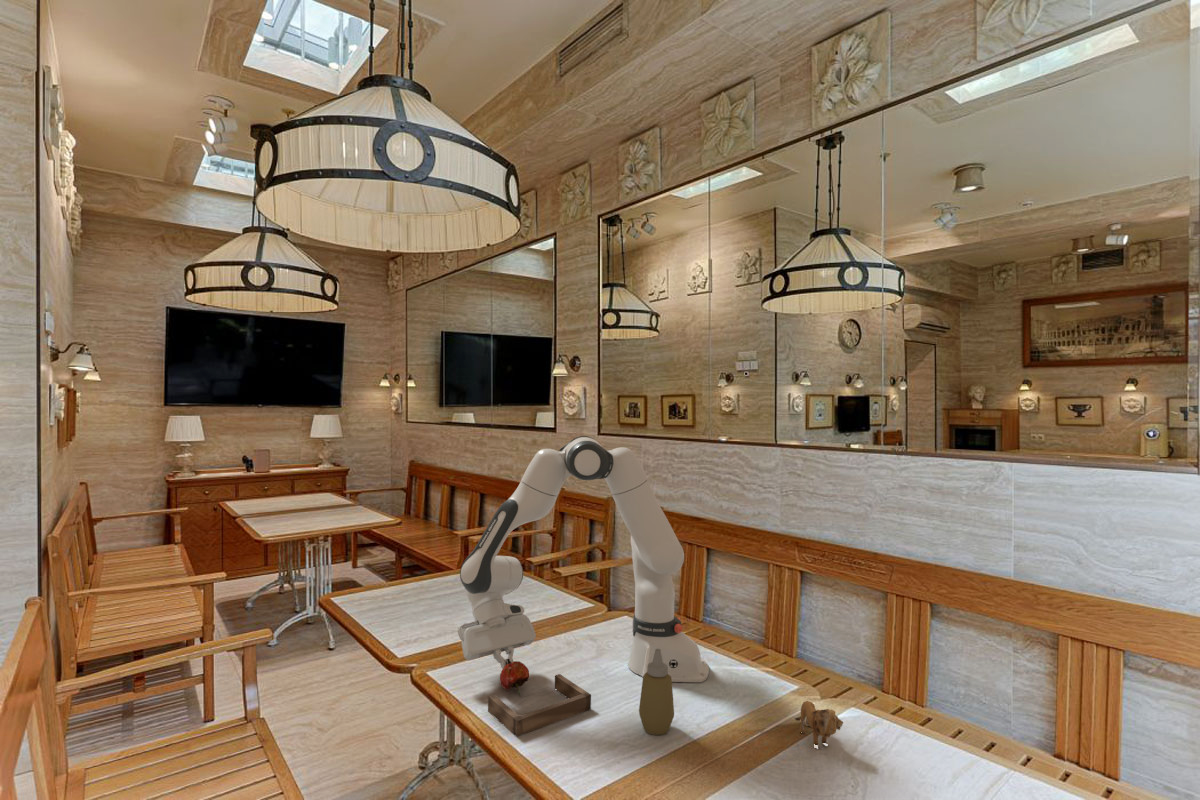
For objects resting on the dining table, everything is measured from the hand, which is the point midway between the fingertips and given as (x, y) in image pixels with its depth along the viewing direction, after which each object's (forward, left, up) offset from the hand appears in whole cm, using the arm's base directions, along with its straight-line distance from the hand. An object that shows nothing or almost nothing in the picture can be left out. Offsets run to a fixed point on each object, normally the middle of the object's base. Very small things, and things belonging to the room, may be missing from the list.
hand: (508, 666), depth 156 cm
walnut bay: (-11, +10, -5) cm, 16 cm away
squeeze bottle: (-40, +12, -5) cm, 42 cm away
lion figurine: (-75, +8, -5) cm, 76 cm away
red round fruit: (-2, +3, -5) cm, 6 cm away
